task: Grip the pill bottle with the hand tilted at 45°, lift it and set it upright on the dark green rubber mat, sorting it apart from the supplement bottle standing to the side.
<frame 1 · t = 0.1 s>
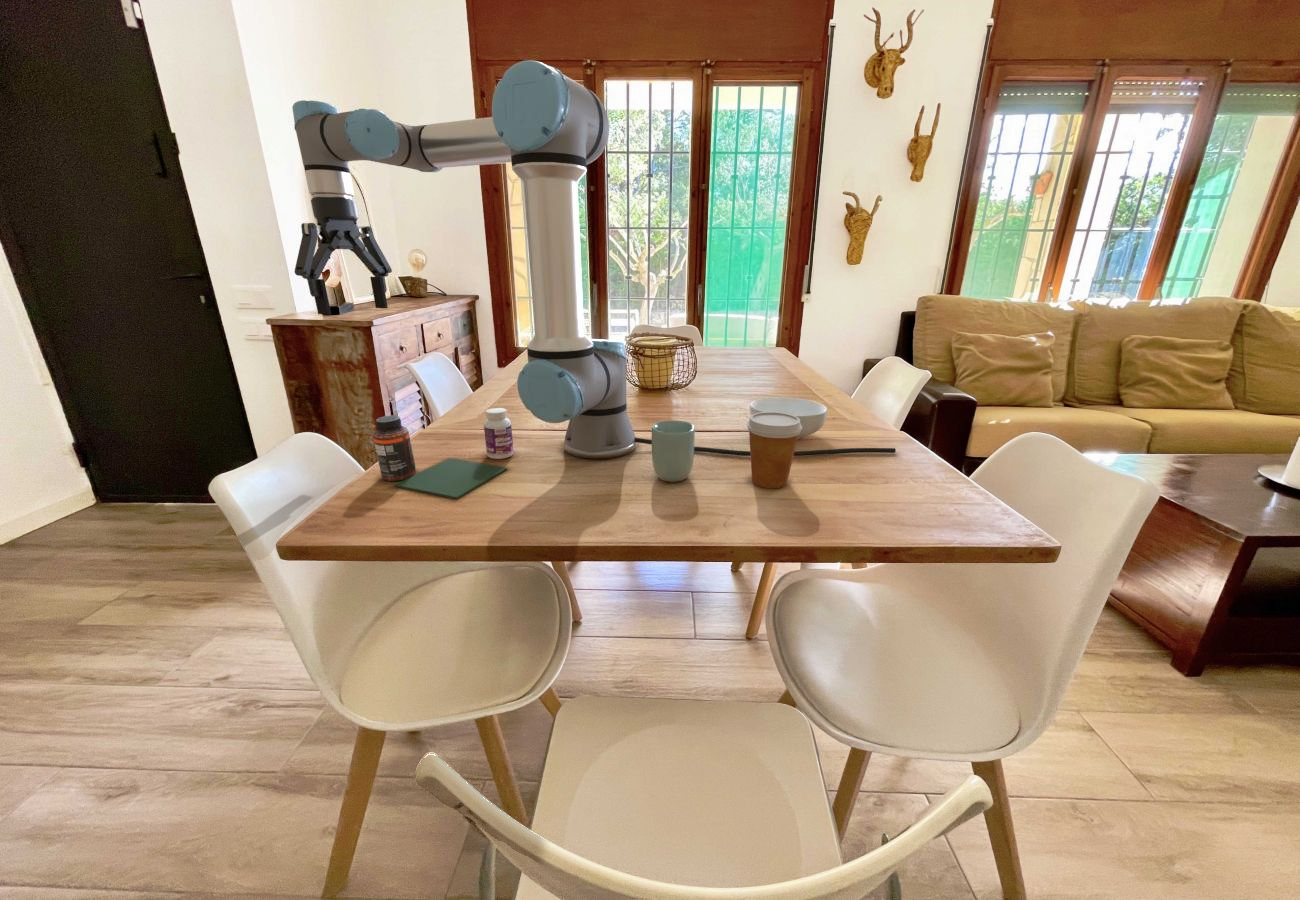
hand: (354, 311, 107), 28 cm above the table, tool pointing down, fingers open, 13 cm apart
cup: (672, 478, 96), on the table
disposable coffee cup: (769, 482, 94), on the table
pill bottle: (500, 455, 107), on the table
supplement bottle: (399, 476, 97), on the table
cereal bowl: (785, 435, 119), on the table
green mat: (453, 477, 96), on the table
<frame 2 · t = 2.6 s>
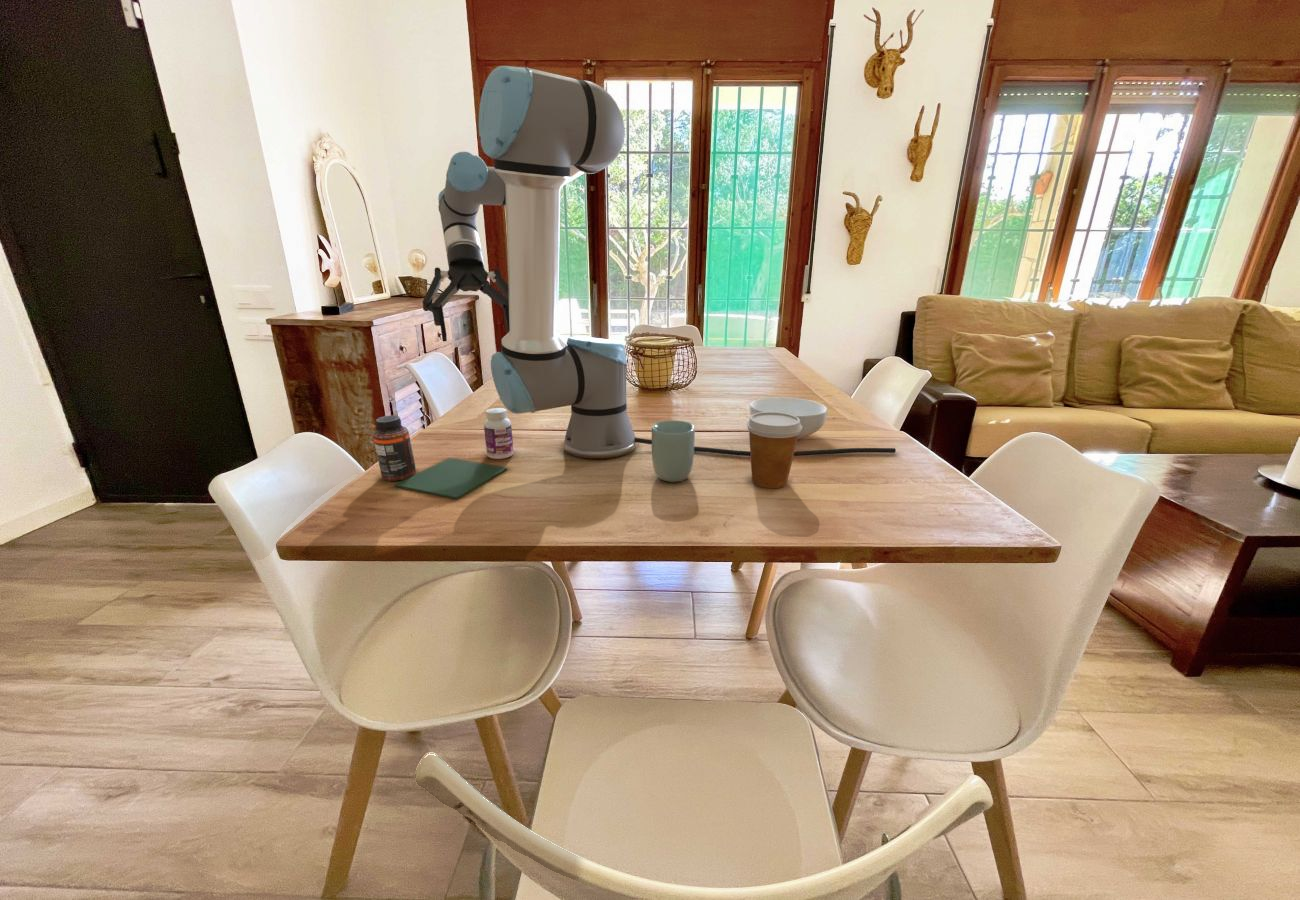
hand: (478, 337, 111), 22 cm above the table, tool tilted 35°, fingers open, 13 cm apart
nothing on the table moved.
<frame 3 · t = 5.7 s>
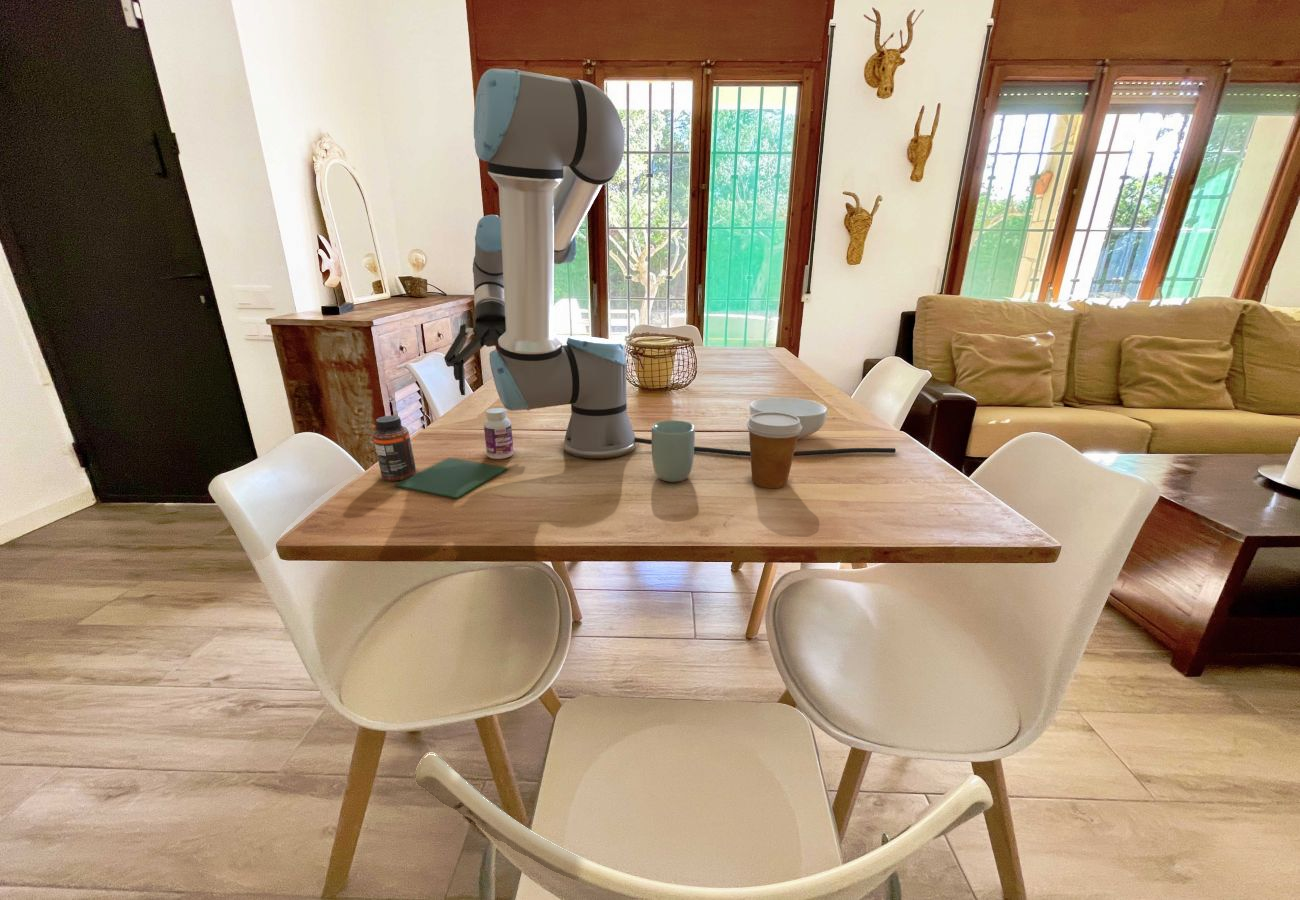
hand: (495, 390, 109), 12 cm above the table, tool tilted 45°, fingers open, 13 cm apart
nothing on the table moved.
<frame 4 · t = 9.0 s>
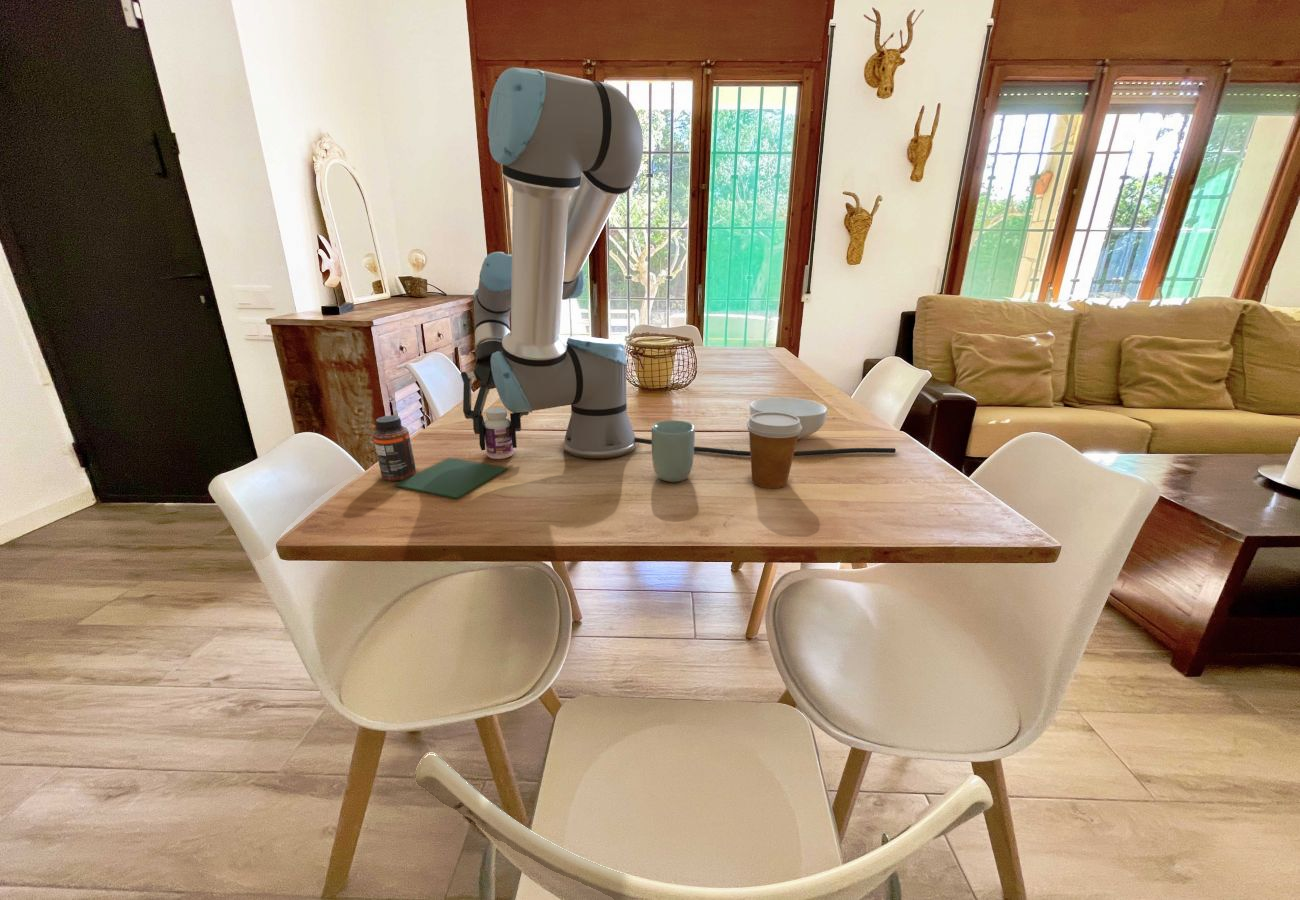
hand: (498, 445, 102), 3 cm above the table, tool tilted 45°, fingers closed on pill bottle, 5 cm apart
pill bottle: (500, 455, 107), on the table, touching gripper
everything else where it was.
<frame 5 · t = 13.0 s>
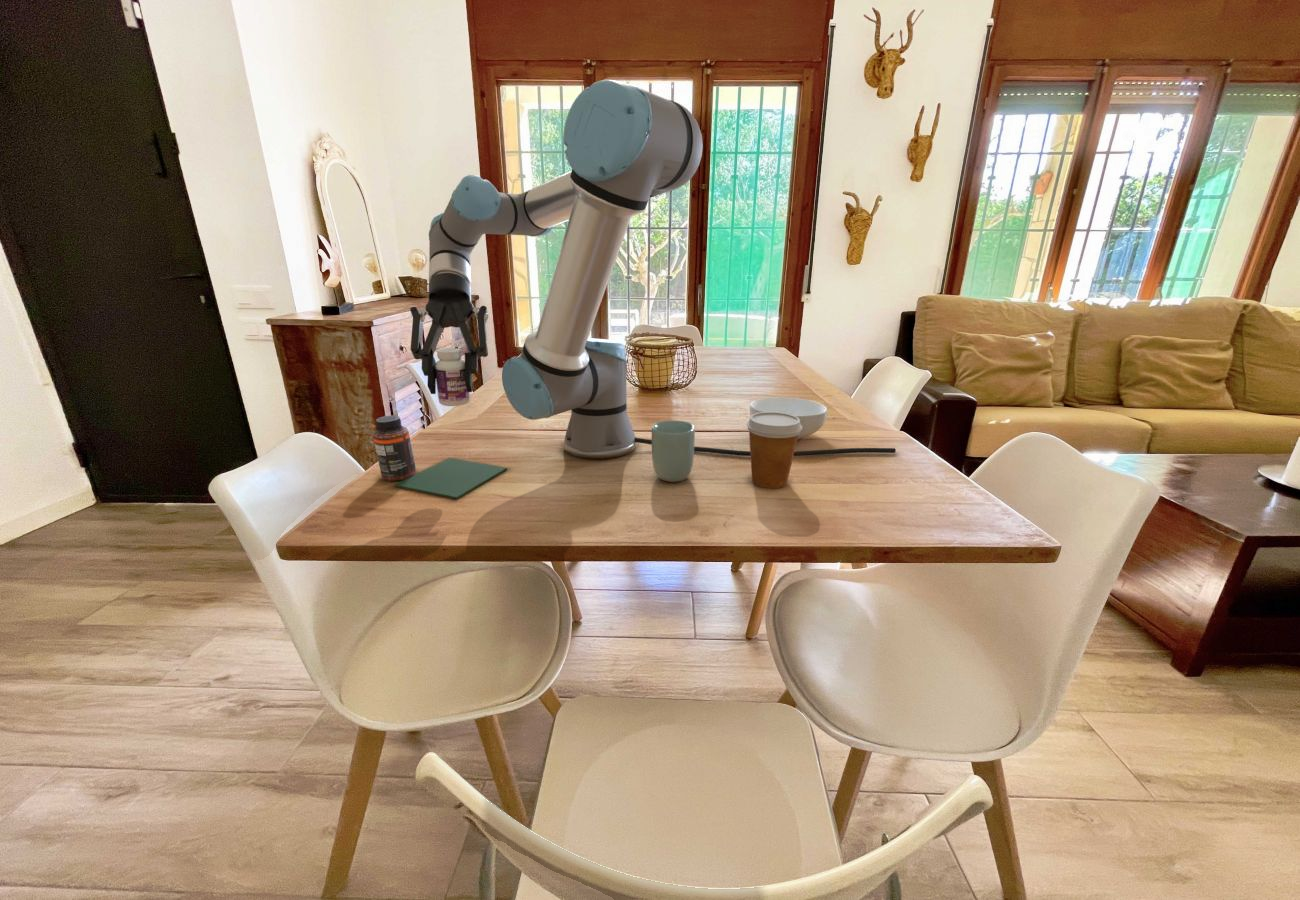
hand: (450, 388, 89), 17 cm above the table, tool tilted 45°, fingers closed on pill bottle, 5 cm apart
pill bottle: (455, 403, 94), point 13 cm above the table, touching gripper
everything else where it was.
when the fingers open (4 cm above the table, at t = 17.1 s): pill bottle stays where it is, resting on green mat.
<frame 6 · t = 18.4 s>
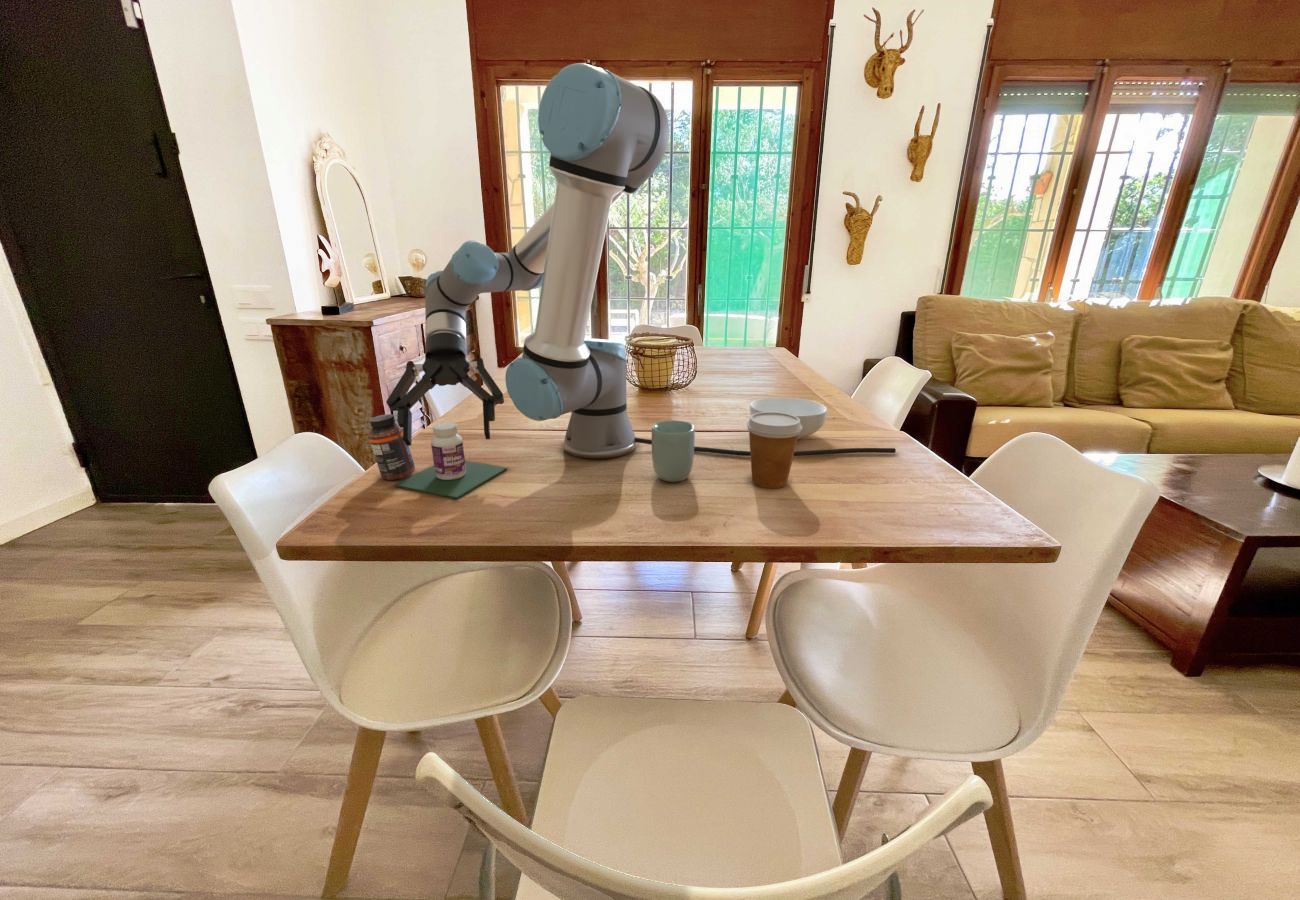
hand: (447, 439, 92), 8 cm above the table, tool tilted 45°, fingers open, 13 cm apart
pill bottle: (451, 476, 96), resting on green mat
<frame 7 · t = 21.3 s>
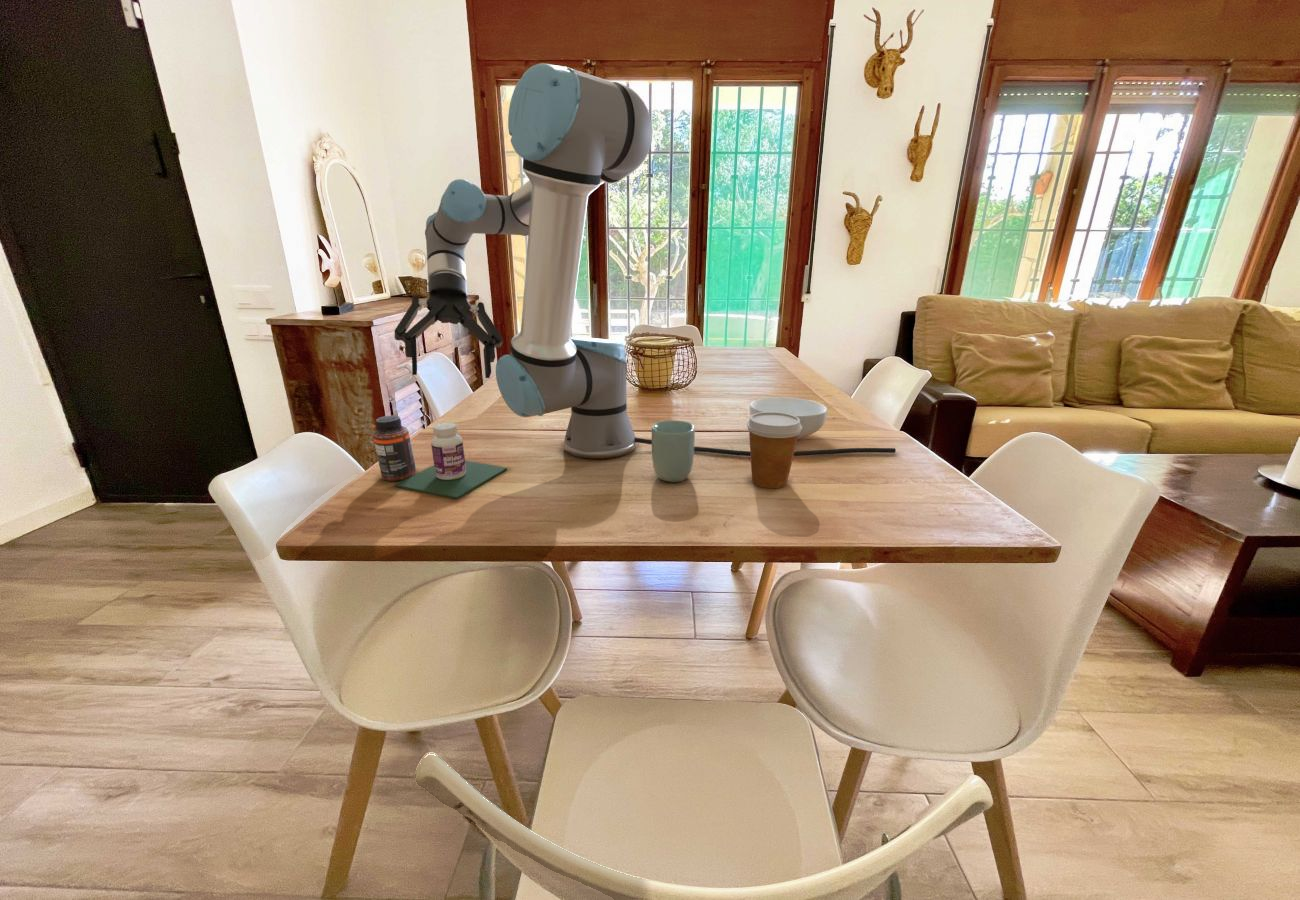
hand: (452, 373, 101), 17 cm above the table, tool tilted 40°, fingers open, 13 cm apart
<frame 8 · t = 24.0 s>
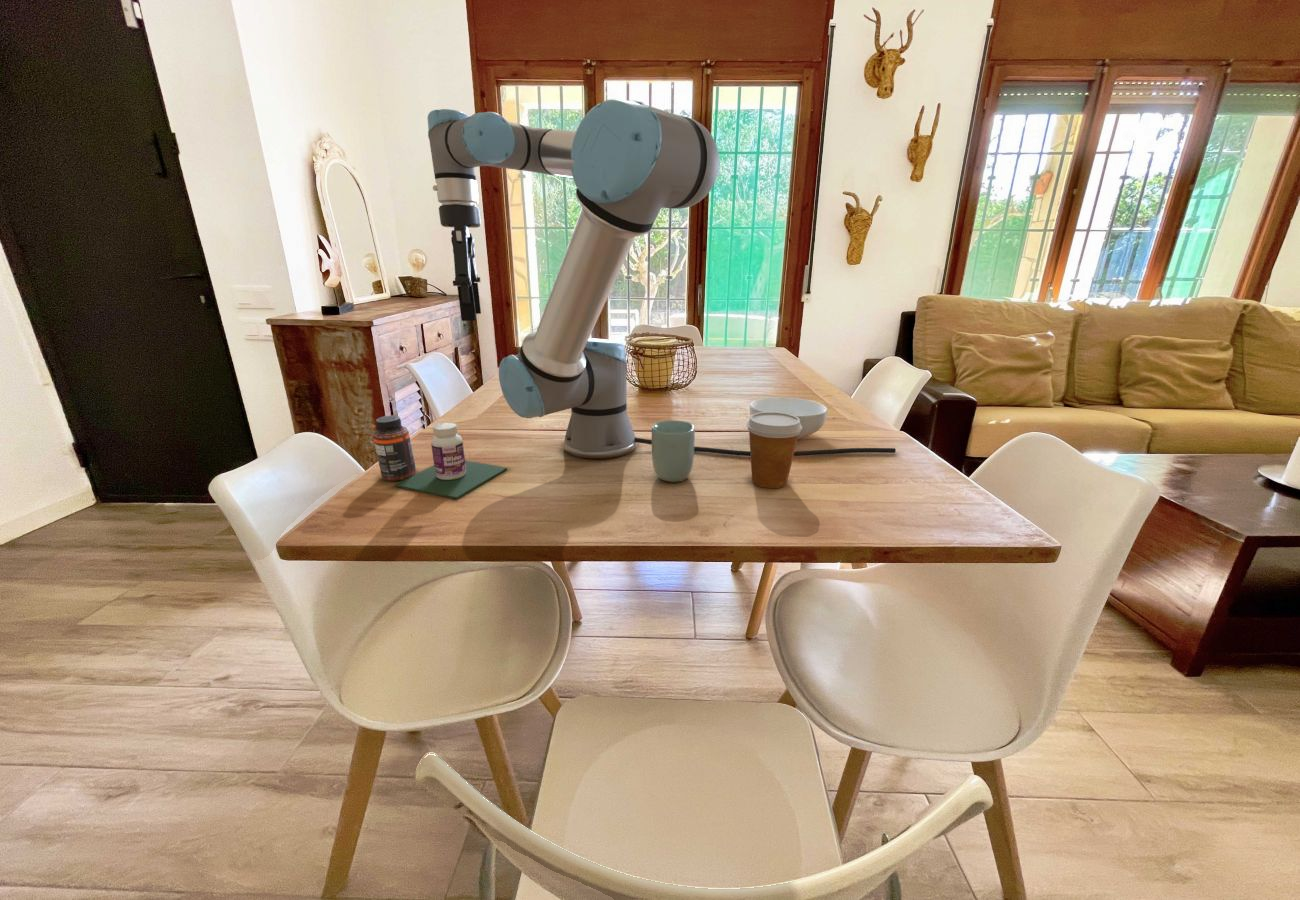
hand: (472, 317, 108), 27 cm above the table, tool pointing down, fingers open, 13 cm apart
nothing on the table moved.
at the end: pill bottle inside the target area on the green mat (0.3 cm from its centre), point 0.2 cm above the green mat's base; pill bottle tilted 0°; supplement bottle moved 0.2 cm from its start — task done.
